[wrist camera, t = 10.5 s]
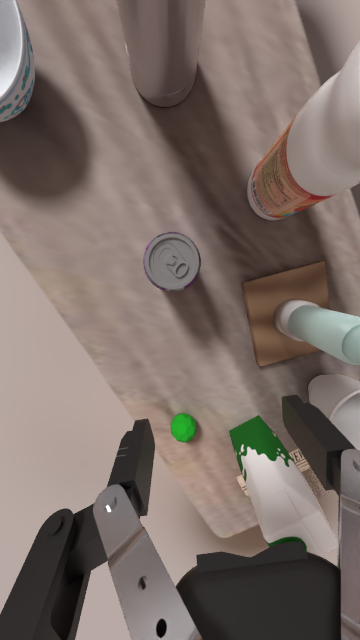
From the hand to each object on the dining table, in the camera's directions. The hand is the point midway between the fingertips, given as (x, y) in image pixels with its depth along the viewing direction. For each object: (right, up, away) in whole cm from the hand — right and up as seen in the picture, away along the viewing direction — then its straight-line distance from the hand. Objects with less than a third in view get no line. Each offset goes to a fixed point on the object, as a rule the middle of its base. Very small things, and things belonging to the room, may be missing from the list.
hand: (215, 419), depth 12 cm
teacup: (+26, -9, +30) cm, 41 cm away
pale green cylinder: (+18, +6, +20) cm, 28 cm away
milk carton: (+13, -18, +32) cm, 39 cm away
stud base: (+18, +7, +26) cm, 32 cm away
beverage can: (-3, +15, +23) cm, 28 cm away
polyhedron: (-2, -14, +30) cm, 33 cm away
